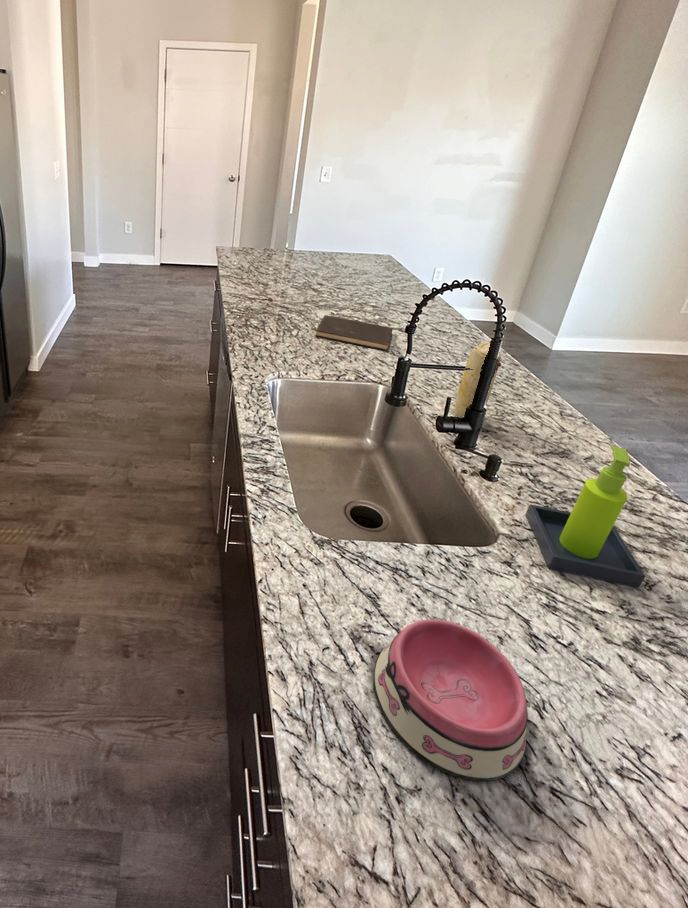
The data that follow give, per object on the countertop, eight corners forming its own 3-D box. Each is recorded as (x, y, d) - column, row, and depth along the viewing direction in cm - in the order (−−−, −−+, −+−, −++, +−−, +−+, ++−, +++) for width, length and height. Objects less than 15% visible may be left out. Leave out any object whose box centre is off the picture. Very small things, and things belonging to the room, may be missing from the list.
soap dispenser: (595, 538, 99) (640, 450, 90) (599, 564, 93) (647, 472, 85) (558, 526, 101) (598, 438, 93) (560, 549, 96) (602, 459, 87)
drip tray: (604, 531, 102) (610, 519, 101) (638, 588, 90) (645, 576, 89) (525, 515, 105) (529, 504, 104) (548, 568, 93) (553, 556, 92)
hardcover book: (387, 351, 170) (388, 344, 169) (314, 336, 179) (315, 330, 178) (391, 333, 184) (393, 327, 183) (324, 320, 192) (325, 314, 191)
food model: (484, 430, 132) (509, 357, 123) (454, 424, 133) (477, 352, 125) (477, 410, 140) (500, 340, 131) (449, 405, 142) (470, 336, 133)
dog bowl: (352, 641, 79) (361, 609, 76) (472, 636, 81) (485, 605, 78) (410, 787, 63) (424, 754, 60) (559, 778, 64) (580, 745, 61)
